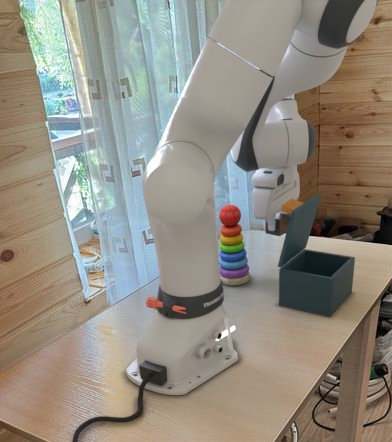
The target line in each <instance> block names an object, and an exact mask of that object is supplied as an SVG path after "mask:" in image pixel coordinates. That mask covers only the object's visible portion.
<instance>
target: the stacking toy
mask: <svg viewBox="0 0 392 442" xmlns="http://www.w3.org/2000/svg"><path fill="white" fill-rule="evenodd" d="M218 216H219V221H220V223H221V224H222V225H221V227H220V231H219V232H220V234H221V235H220V237H219V241H220V243H219V249H220V250H219V267H220V279H221V280H222V282H223V285H226V286H241V285H243V284H245V283H247V282H248V281H250V279H251V272H250V265H249V264H248V262H249V258H248V257H247V250H246V248H245V247H246V245H245V242H244V235H243V233H242V231H243V227H242V225H240V224H239V223H240V221H241V219H242V213H241V210H240V208H239V207H238V206H237V205H235V204H226V205H224V206H222V208H221V209H220V210H219V215H218Z"/></svg>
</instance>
